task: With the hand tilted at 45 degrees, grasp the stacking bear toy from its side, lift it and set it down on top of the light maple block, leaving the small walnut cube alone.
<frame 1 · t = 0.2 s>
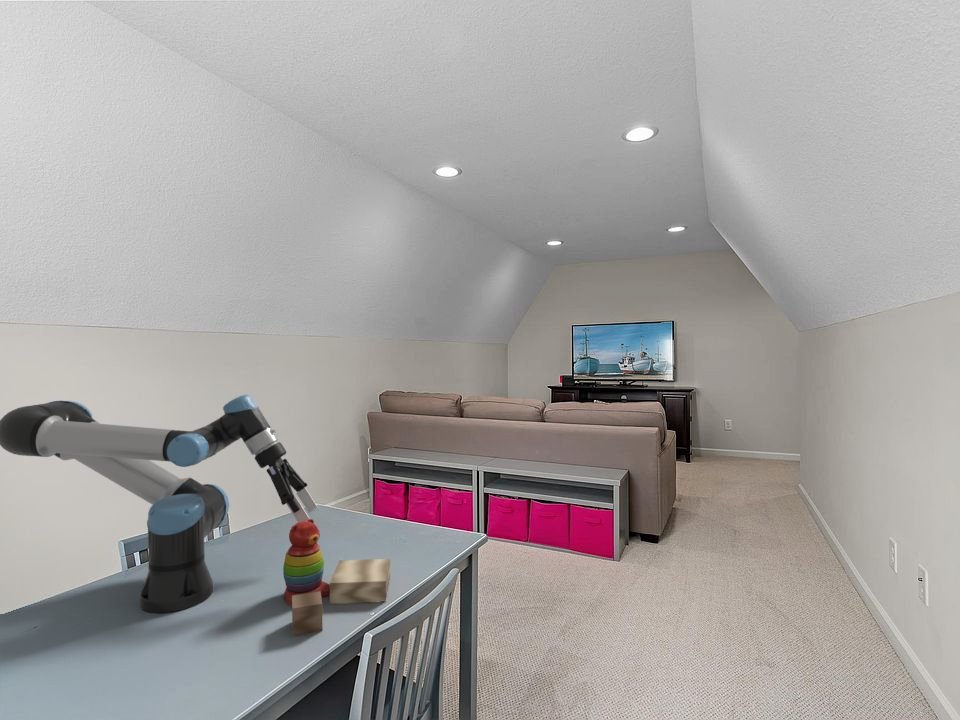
hand: (309, 515, 141), 15 cm above the table, tool tilted 30°, fingers open, 13 cm apart
walnut cube: (307, 626, 113), on the table
maple block: (361, 590, 130), on the table
stacking bear: (304, 595, 128), on the table
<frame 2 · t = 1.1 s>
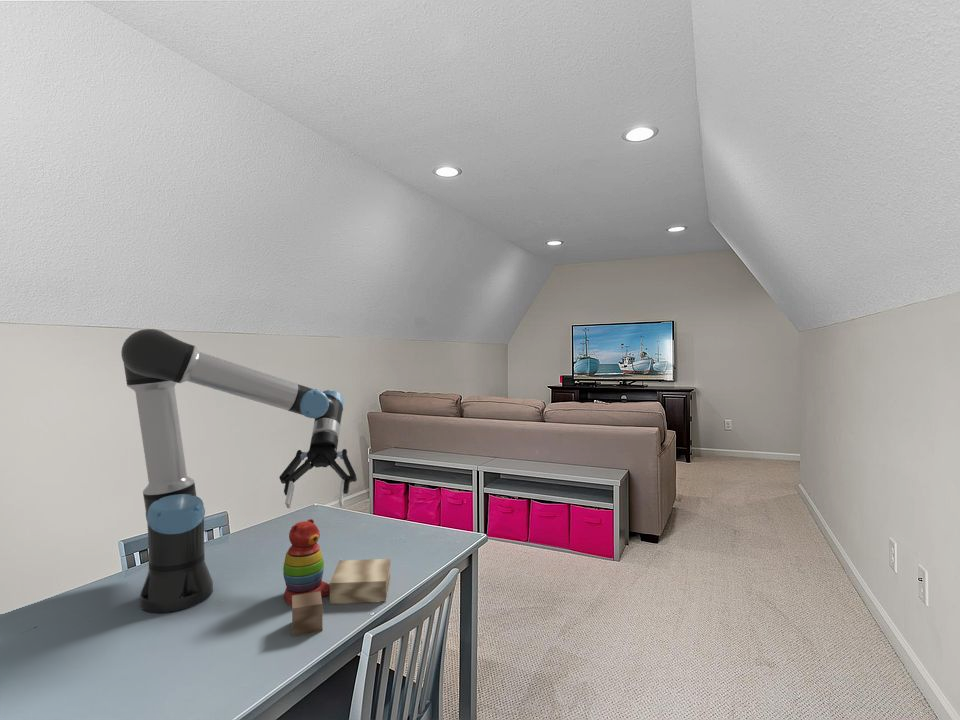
hand: (314, 505, 138), 19 cm above the table, tool tilted 45°, fingers open, 13 cm apart
nothing on the table moved.
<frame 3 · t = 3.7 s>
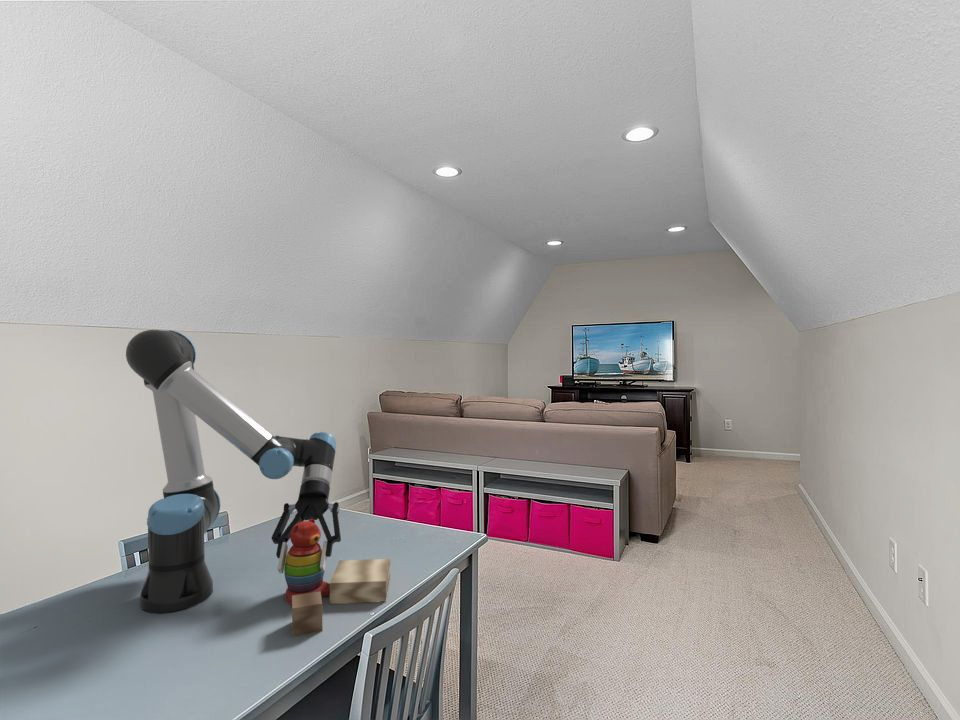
hand: (301, 570, 125), 7 cm above the table, tool tilted 45°, fingers closed on stacking bear, 9 cm apart
stacking bear: (305, 595, 128), on the table, touching gripper
everything else where it was.
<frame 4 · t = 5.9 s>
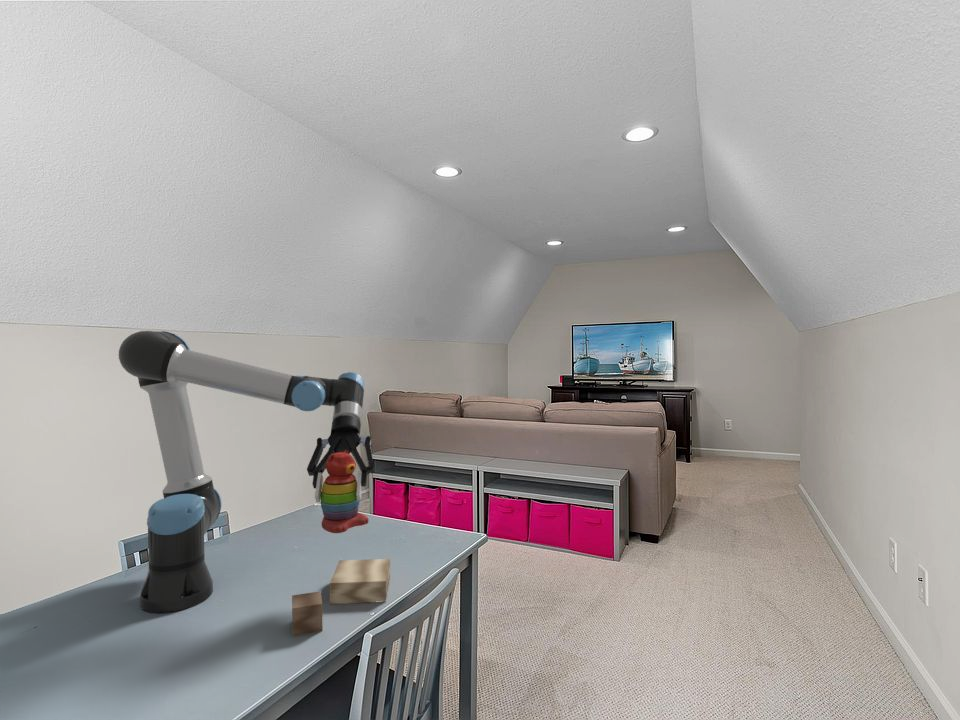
hand: (338, 498, 126), 24 cm above the table, tool tilted 45°, fingers closed on stacking bear, 9 cm apart
stacking bear: (341, 525, 129), point 16 cm above the table, touching gripper
everything else where it was.
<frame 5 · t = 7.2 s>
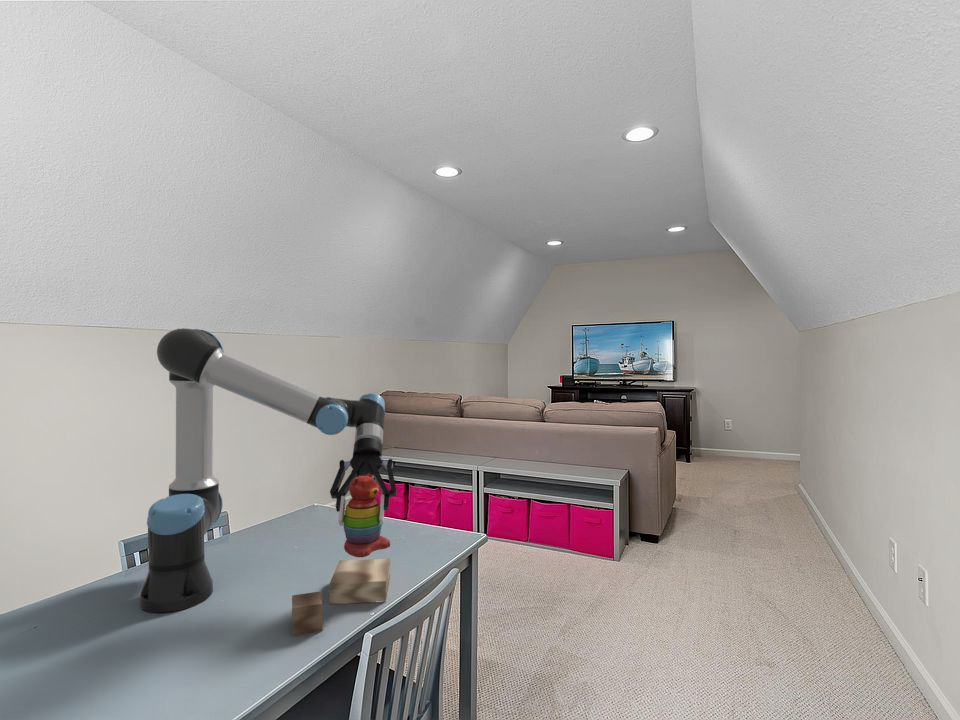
hand: (361, 522, 127), 18 cm above the table, tool tilted 45°, fingers closed on stacking bear, 9 cm apart
stacking bear: (363, 548, 130), point 10 cm above the table, touching gripper
everything else where it was.
when the fingers open (14 cm above the table, at t = 8.4 s): stacking bear drops 1 cm, resting on maple block.
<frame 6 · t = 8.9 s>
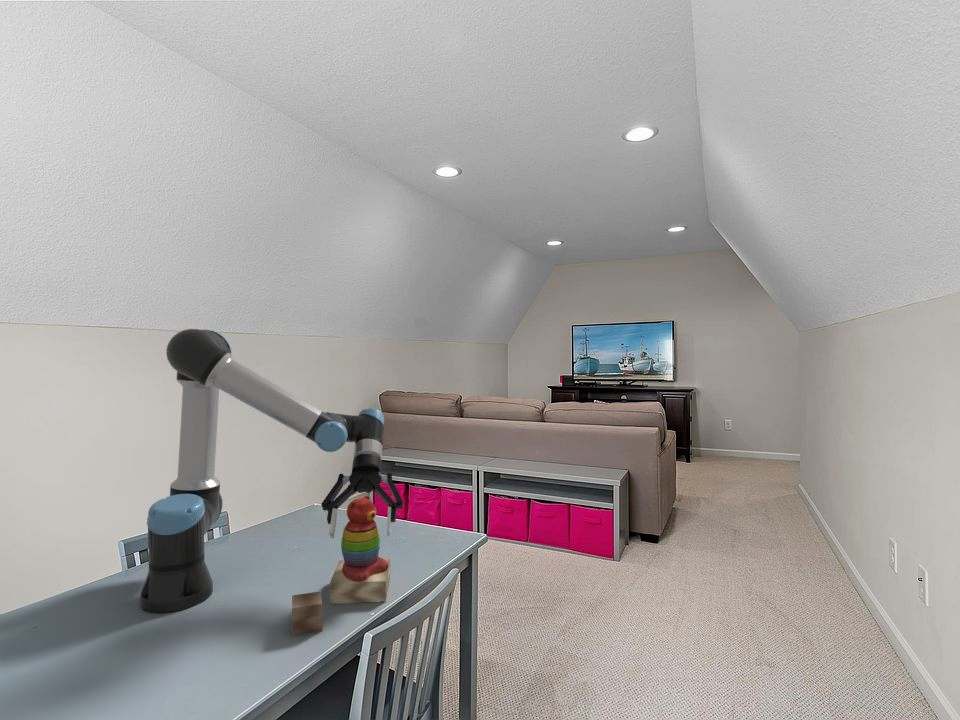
hand: (360, 535, 128), 15 cm above the table, tool tilted 45°, fingers open, 13 cm apart
stacking bear: (361, 570, 130), point 5 cm above the table, touching maple block
everything else where it was.
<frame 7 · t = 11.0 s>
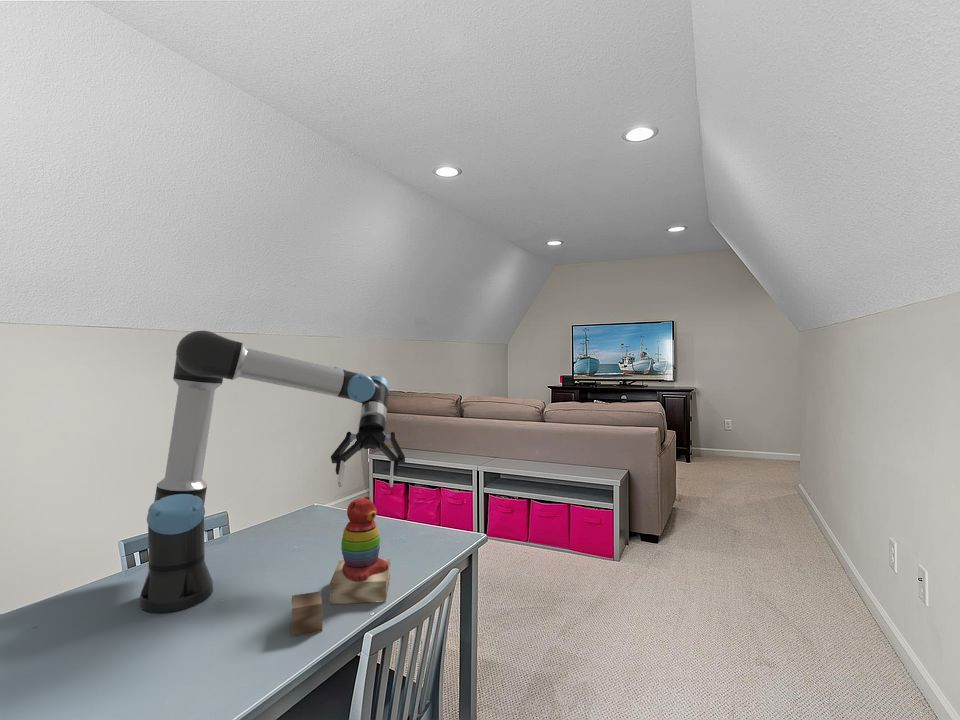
hand: (365, 484, 141), 23 cm above the table, tool tilted 45°, fingers open, 13 cm apart
nothing on the table moved.
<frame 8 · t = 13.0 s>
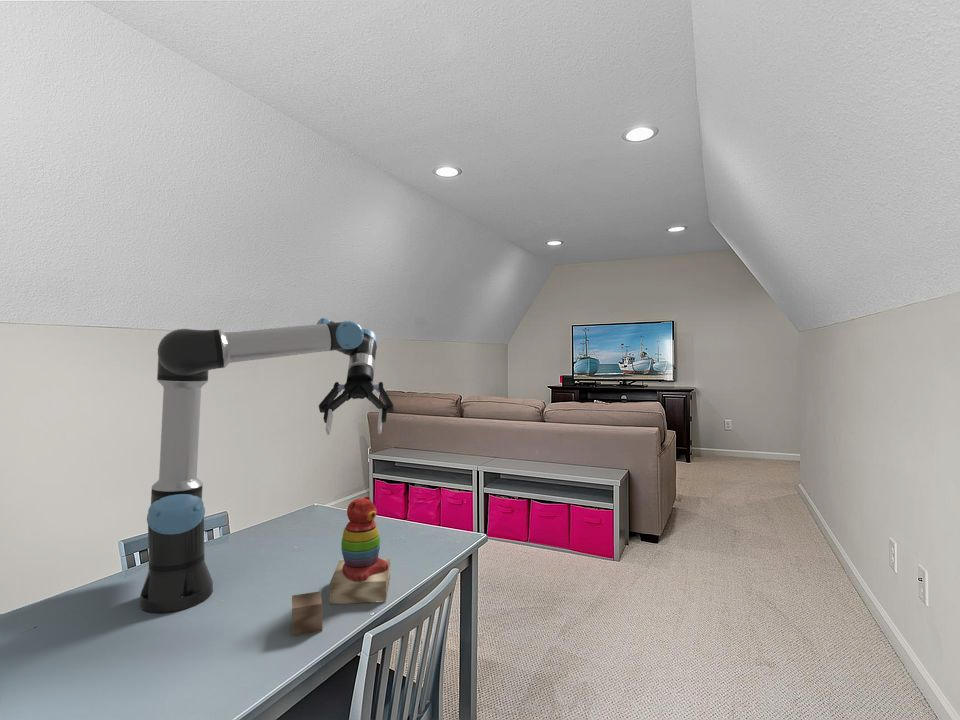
hand: (353, 431, 141), 38 cm above the table, tool tilted 45°, fingers open, 13 cm apart
nothing on the table moved.
at the end: stacking bear inside the target area on the maple block (0.1 cm from its centre), point 4.8 cm above the maple block's base; stacking bear tilted 0°; the gripper is holding nothing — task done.
